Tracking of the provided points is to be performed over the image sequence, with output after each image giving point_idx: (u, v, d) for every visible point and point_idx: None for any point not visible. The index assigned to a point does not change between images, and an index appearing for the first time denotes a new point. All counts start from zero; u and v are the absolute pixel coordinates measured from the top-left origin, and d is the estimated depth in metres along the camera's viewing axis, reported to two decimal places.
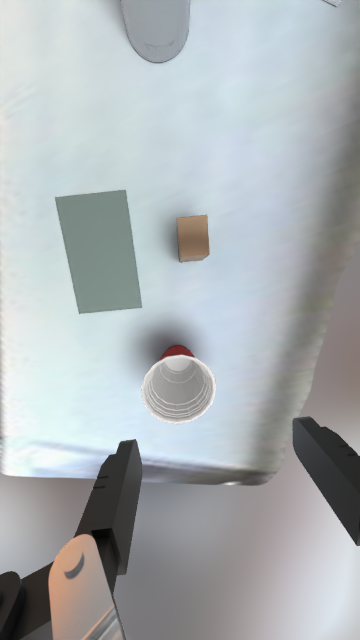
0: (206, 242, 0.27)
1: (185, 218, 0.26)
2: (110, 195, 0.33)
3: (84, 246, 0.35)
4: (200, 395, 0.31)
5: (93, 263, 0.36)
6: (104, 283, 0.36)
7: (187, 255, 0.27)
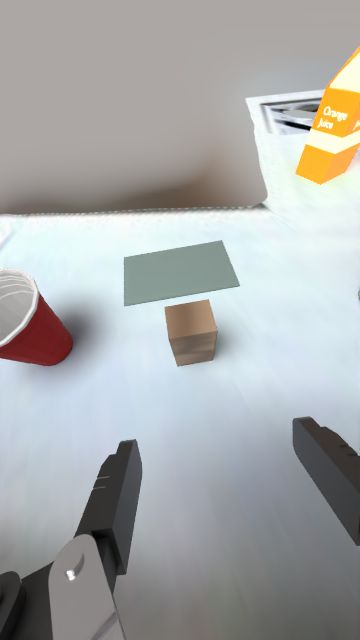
0: (183, 333, 0.20)
1: (209, 307, 0.21)
2: (231, 274, 0.35)
3: (184, 259, 0.38)
4: None
5: (169, 265, 0.37)
6: (151, 273, 0.37)
7: (166, 314, 0.21)
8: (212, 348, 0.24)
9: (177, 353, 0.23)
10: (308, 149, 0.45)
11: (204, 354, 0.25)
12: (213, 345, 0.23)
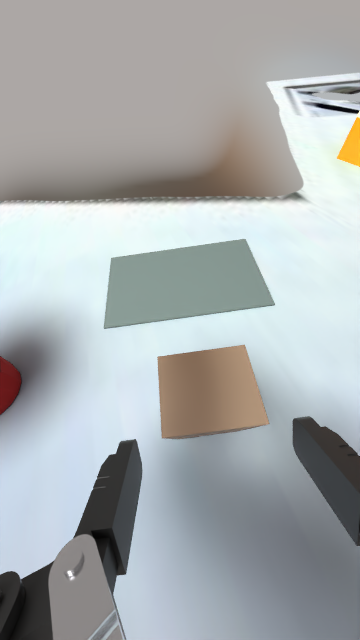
0: (194, 426, 0.09)
1: (248, 363, 0.11)
2: (262, 287, 0.24)
3: (193, 262, 0.27)
4: None
5: (172, 271, 0.27)
6: (146, 282, 0.26)
7: (161, 373, 0.11)
8: (244, 429, 0.13)
9: (179, 437, 0.13)
10: None
11: None
12: (248, 428, 0.12)
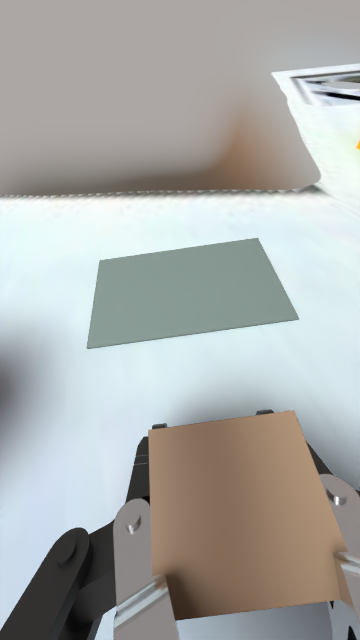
0: (216, 594, 0.05)
1: (304, 449, 0.06)
2: (281, 297, 0.20)
3: (197, 266, 0.23)
4: None
5: (172, 276, 0.22)
6: (140, 289, 0.22)
7: (154, 465, 0.06)
8: None
9: None
10: None
11: None
12: None
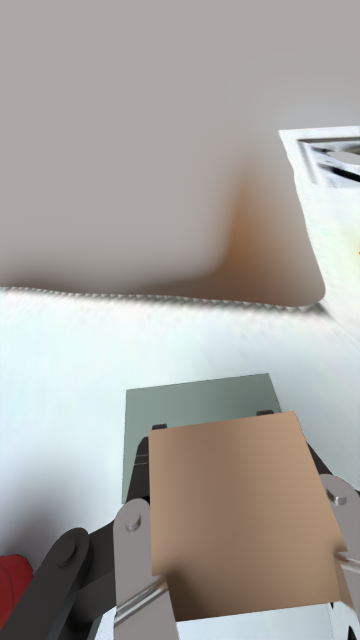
0: (217, 596, 0.05)
1: (305, 450, 0.06)
2: None
3: (214, 406, 0.26)
4: None
5: (192, 418, 0.25)
6: None
7: (154, 466, 0.06)
8: None
9: None
10: None
11: None
12: None
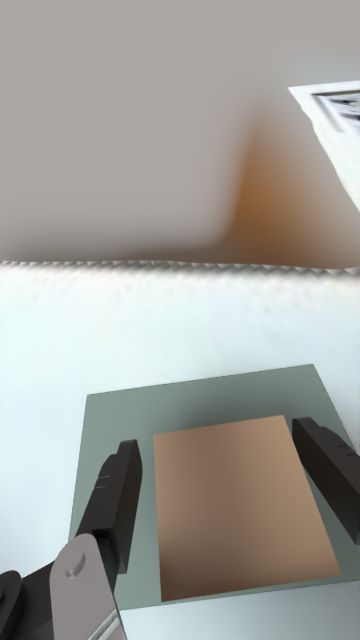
0: (215, 577, 0.06)
1: (292, 449, 0.07)
2: None
3: (229, 420, 0.15)
4: None
5: None
6: (145, 469, 0.14)
7: (159, 466, 0.07)
8: None
9: None
10: None
11: None
12: None
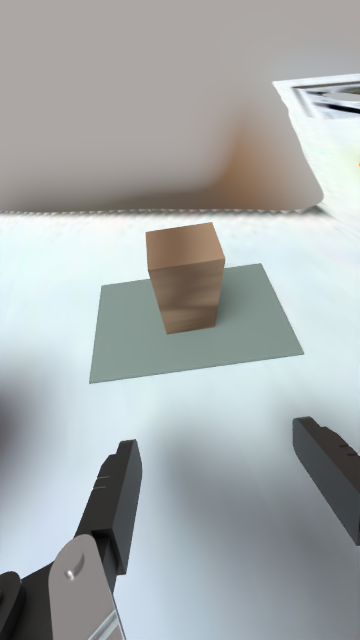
0: (171, 262, 0.13)
1: (213, 231, 0.14)
2: (286, 329, 0.19)
3: None
4: None
5: None
6: (142, 319, 0.21)
7: (148, 240, 0.14)
8: (215, 302, 0.16)
9: (164, 306, 0.16)
10: None
11: (204, 314, 0.18)
12: (217, 295, 0.16)
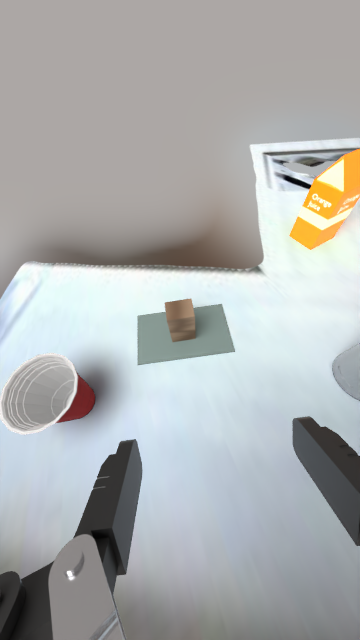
0: (175, 317, 0.35)
1: (191, 303, 0.36)
2: (228, 340, 0.42)
3: None
4: (25, 419, 0.28)
5: None
6: (160, 334, 0.44)
7: (166, 306, 0.36)
8: (193, 329, 0.39)
9: (171, 331, 0.38)
10: (300, 220, 0.52)
11: (189, 333, 0.40)
12: (194, 327, 0.38)
